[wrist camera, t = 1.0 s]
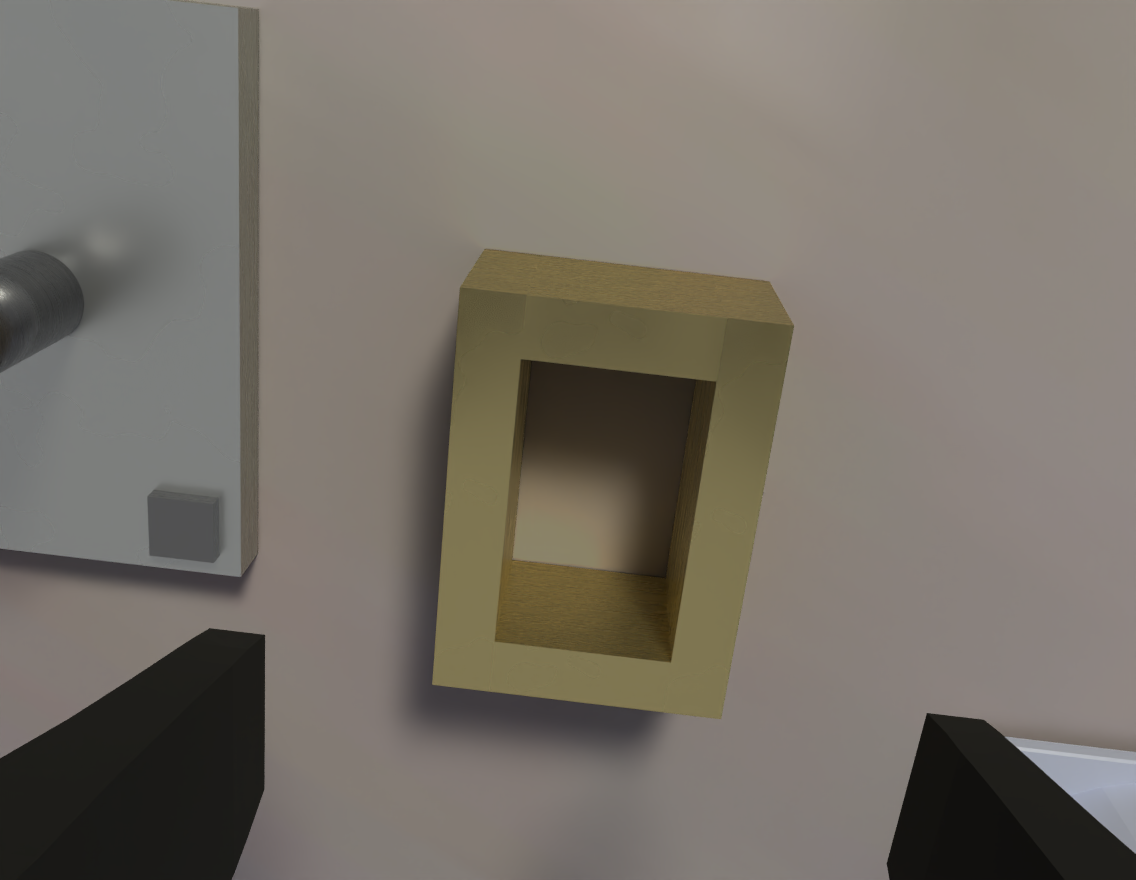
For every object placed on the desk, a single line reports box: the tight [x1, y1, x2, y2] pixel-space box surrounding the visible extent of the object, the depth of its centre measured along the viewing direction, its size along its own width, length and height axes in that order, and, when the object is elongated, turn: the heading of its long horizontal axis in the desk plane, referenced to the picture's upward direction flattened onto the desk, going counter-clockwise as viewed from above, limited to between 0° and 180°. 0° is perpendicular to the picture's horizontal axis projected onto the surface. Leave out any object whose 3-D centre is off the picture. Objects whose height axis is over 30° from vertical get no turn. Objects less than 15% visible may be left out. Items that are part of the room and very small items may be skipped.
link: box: [432, 249, 794, 719], centre depth 19 cm, size 7×5×3 cm
